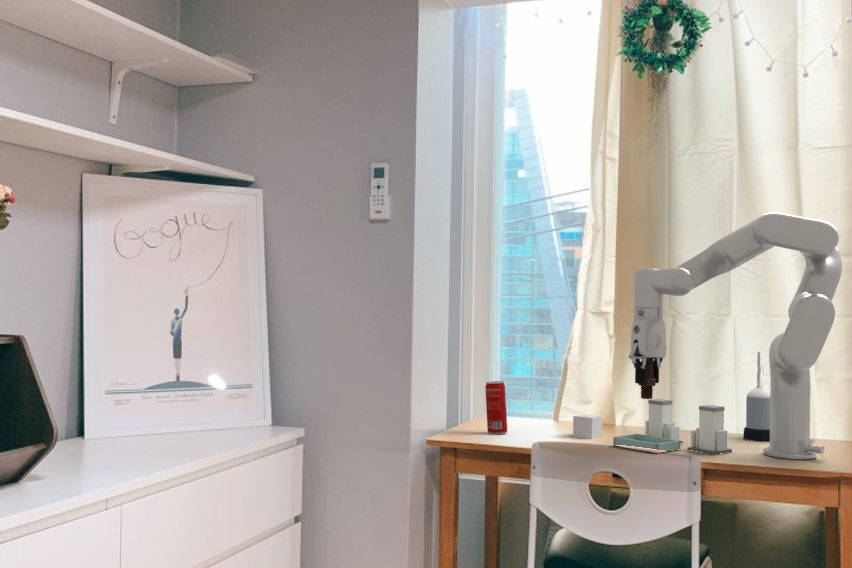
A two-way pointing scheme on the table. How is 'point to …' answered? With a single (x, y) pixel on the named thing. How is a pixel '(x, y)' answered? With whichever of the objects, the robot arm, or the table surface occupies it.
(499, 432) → the beverage can
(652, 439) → the tray
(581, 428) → the light grey cube
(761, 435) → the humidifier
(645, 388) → the bolt
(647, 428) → the block
